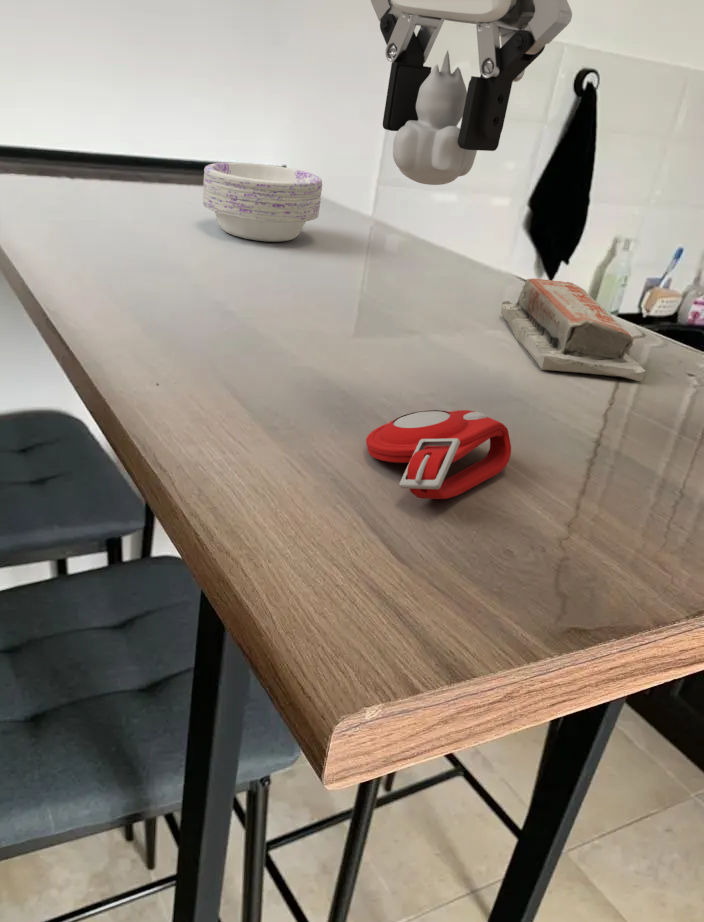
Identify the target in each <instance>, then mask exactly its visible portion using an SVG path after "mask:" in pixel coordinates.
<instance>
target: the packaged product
mask: <svg viewBox="0 0 704 922" xmlns="http://www.w3.org/2000/svg"><path fill="white" fill-rule="evenodd" d="M500 315H501V316H502V317H503V319H504V320H505V321H506V322H507V324H508V326H509V328H510V329H511V331H512V333H513V335H514V337H515V338H516V341H518V342H519V343H520V344H521V345H522V346H523V347H524V348H525V349H526V351H527V352H528V354H529V355H530V356H531V358H532V359H533V360H534V361H535V363H536V364H537V365H538V367H539V368H540V370H542V371H557V372H569V373H571V372H572V373H580V374H581V373H582V374H589V375H599V376H607V377H615V378H622V379H627V380H633V381H637V382H642V380H643V378H644V375H645V374H646V372H647V370H646V369H644V368H643V367H642V366H641V365H640V364H639V363H638V362H637V361H636V360H635V359H633V358H632V357H631V355H629V354H627V352H628V351H629V350H630V347H632V346H633V344H634V343H633V341H634V340H633V337H632V335H631V334H630V333H629V331H627V330H626V329H625V328H624V326H623V325H621V323H619V322H618V321H617V319H615V318H614V317H613V316H612V315H611V314H610V313H609V312H608V311H606V309H605V308H603V307H602V306H601V304H599V303H598V302H597V301H596V299H595V298H593V297H592V296H591V294H589V293H588V292H587V291H586V290H585V289H584V288H582V287H581V286H579V285H577V284H574V283H573V282H570V281H561V280H554V279H553V280H552V279H551V280H550V279H542V278H526V279H525V282H524V284H523V285H522V290H521V292H520V294H519V296H518V299H517V302H516V303H512V302H511V301H510V300H504V301H502V302H501V309H500Z"/></svg>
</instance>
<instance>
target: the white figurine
mask: <svg viewBox="0 0 704 922" xmlns="http://www.w3.org/2000/svg"><path fill="white" fill-rule="evenodd" d="M467 90H468V89H467V86H466V84H465V80H464V77H463V75H462V71H461V69H460V67H459V66H458V67H456V68H455V70H454V71H453V72H451V61H450V53H449V49H447V50H446V53H445V55H444V58H443V61H442V65H441V68H440V69H439V65H438V64H436V65H434V67H433V68H432V69H431V73H430V75H429V76H428V77H427V78H426V80H425V81H424V82H423V83H422V85H421V86H420V89H419V93H418V98H417V102H416V112H417V115H418V121H417V120H410V121H407V122H406V124H405V126H403V127H401V128H400V129H399V130H398V131H396V133H395V135H394V138H393V143H392V159H393V162H394V164H395V165H396V167H397V168H398V170H399V171H400V173H401V174H402V175H404V176H405V177H406V178H408V179H410V180H412V181H413V182H416V183H419V184H423V185H429V186H430V185H431V186H440V185H441V186H442V185H447V184H450V183H452V182H454V181H455V180H456V179H457V178H459V177H463V176H466V175H467V174H468V173H470V171H471V170H472V168H473V165H474V162H475V160H476V156H477V152H478V150H466V149H462V148H460V147H459V145H458V137H459V132H460V127H458V125H459V123H460V121H462V117H463V111H464V106H465V101H466V96H467Z"/></svg>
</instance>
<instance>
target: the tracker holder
mask: <svg viewBox="0 0 704 922" xmlns="http://www.w3.org/2000/svg"><path fill="white" fill-rule="evenodd" d="M488 440H489V448H488V451H487V454H486V455H485V457H482V459H480V460H478V461H477V462H474V463H473V464H472V465H469V466H468V467H466V468H464V469H462V470H460V471H458V472H457V473H455V474H453V475H451V476H449V477H447V478H446V476H447V474H448V472H449V470H450V469H449V468H450V467H451V465H452V463H455V462H457V461H458V460H460V459H462V458H463V457H465V456H466V455H468V454H469V453H470V452H472V451H474V450H475V449H477V448H478V447H480V446H481V445H483V444H484V443H485V442H487V441H488ZM365 443H366V447H367V452H368V455H369V456H371V457H372V458H374V459H376V460H379V461H381V462H388V463H397V464H405V463H406V464H407V463H408V464H407V466H406V468H405V470H404V473H403V475H402V477H401V479H400V481H399V483H398V486H399V487H400V488H401V489H405V490H407V489H409V490H410V492H411V494H413V495H414V496H415V497H416V498H418V499H427V500H428V499H430V500H446V499H447V500H448V499H451V498H454V497H457V496H459V495H461V494H464V493H465V492H467V491H469V490H471V489H472V488H474V487H476V486H478V485H480V484H482V483H483V482H485V481H487V480H489V479H492V478H493V477H495V476H496V475H498V474H499V473H501V472H503V470H504V469H505V468H506V467H507V465H508V463H509V462H510V459H511V458H510V457H511V455H512V444H511V437H510V433H509V429H508V428H507V426H506V425H505V424H504V423H502V422H500V421H498V420H496V419H494V418H492V417H489V416H488V415H487V414H486V413H484V412H481V411H475V410H470V409H469V410H468V409H466V410H465V409H463V410H451V411H447V410H441V409H440V410H436V409H432V410H420V411H415V412H411V413H406V414H403V415H401V416H399V417H396V418H394V419H393V420H391V421H389V422H388V423H385V424H383V425H381V426H378V427H376V428H375V429H373V430H372V431H370V433H369V434H368V435H367V436H366V439H365ZM445 478H446V479H445Z"/></svg>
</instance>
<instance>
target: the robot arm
mask: <svg viewBox="0 0 704 922" xmlns="http://www.w3.org/2000/svg"><path fill="white" fill-rule="evenodd" d="M370 3H371V5H372V7H373V11H374V12H375V15H376V17H377V20H378V21H379V29H380V32H381V34H382V37H383V39H384V42H385V44H386V47H385V58H386V60H387V61H388V62H390V63H391V66H390V72H389V78H388V84H387V85H388V86H387V92H386V97H385V104H384V105H385V106H384V112H383V118H382V127H383V129H384V130H387V131H391V132H398V130H399V129H400V128H401V127H403V126H405V124H406V122H407V121H410V120H417V121H418V115H417V112H416V102H417V98H418V93H419V89H420V86H421V85H422V83H423V82H424V81H425V80H426V78H427V77H428V76H429V75H430V73H431V71H432V69H433V68H432V66H426V65H425V63H426V62H427V60H428V57H429V55H430V53H431V51H432V49H433V47H434V44H435V42H436V40H437V38H438V35H439V33H440V31H441V28H442V27H443V24H444V22H445V21H449V22H455V23H463V24H470V25H475V27H476V39H477V41H476V42H477V51H478V52H477V53H478V65H479V73H480V76H474V75H471V76H470V80H469V81H468V85H467V89H466V90H467V96H466V101H465V106H464V111H463V116H462V118H461V123H460V127H459V128H460V132H459V137H458V145H459V147H460V148H462V149H466V150H477V151H486V152H495V151H496V150H497V149H498V147H499V145H500V140H501V135H502V132H503V128H504V125H505V119H506V115H507V110H508V105H509V100H510V96H511V93H512V92H511V91H512V86H513V83H517V82H519V81H521V79H523V77H524V75H525V72H526V69H527V68H528V67H529V66H530V65H531V64H532V63H533V62H534V61H535V60H536V59H537V58H538V57H539V56H540V55H541V54H542V53H543V52H544V50H545V48H546V45H547V44H548V45H549V44H550V43H551V42H552V41H553V40H554V39H555V38H556V37H557V36H558V35H559V34H560V33H562V31H564V29H566V27H568V25H569V24H570V23H571V22H572V19H573V17H572V16H573V13H572V12H573V11H572V9H571V6H570V4H569V2H568V0H370ZM417 26H420V27H419V29H418V32H417V33H416V32H415V29H416V27H417ZM500 42H501V43H500Z"/></svg>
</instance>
